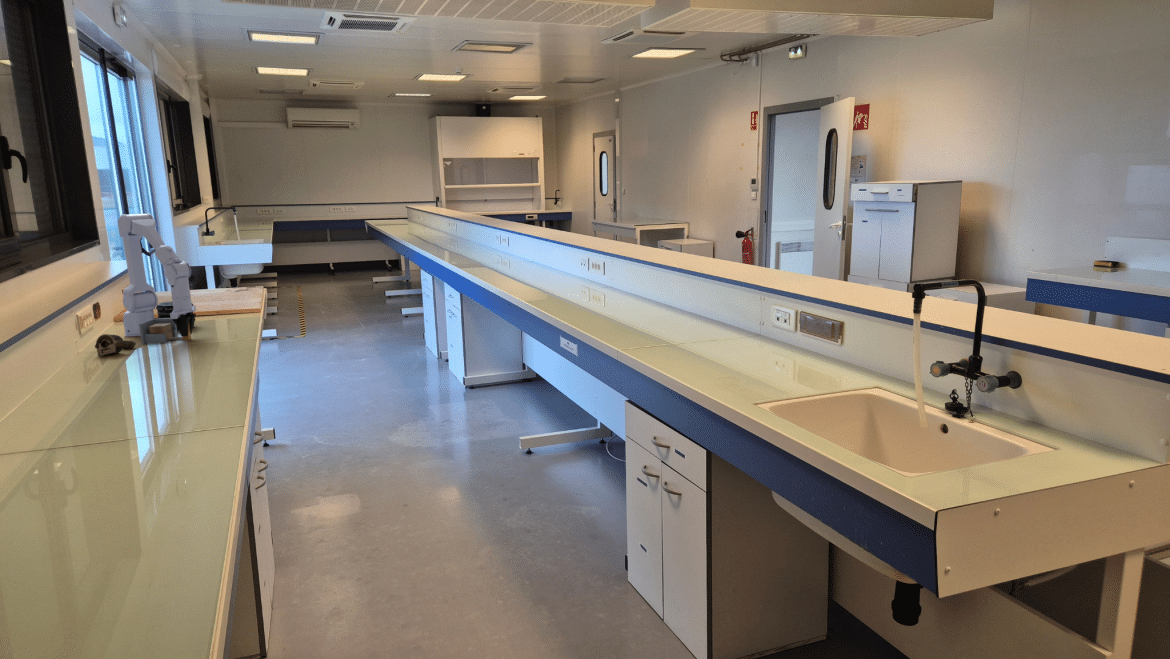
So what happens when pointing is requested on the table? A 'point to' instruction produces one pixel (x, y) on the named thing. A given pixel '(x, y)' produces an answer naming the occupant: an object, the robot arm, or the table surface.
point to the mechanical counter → (112, 344)
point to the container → (166, 310)
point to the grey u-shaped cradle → (156, 338)
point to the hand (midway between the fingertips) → (186, 335)
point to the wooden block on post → (167, 331)
